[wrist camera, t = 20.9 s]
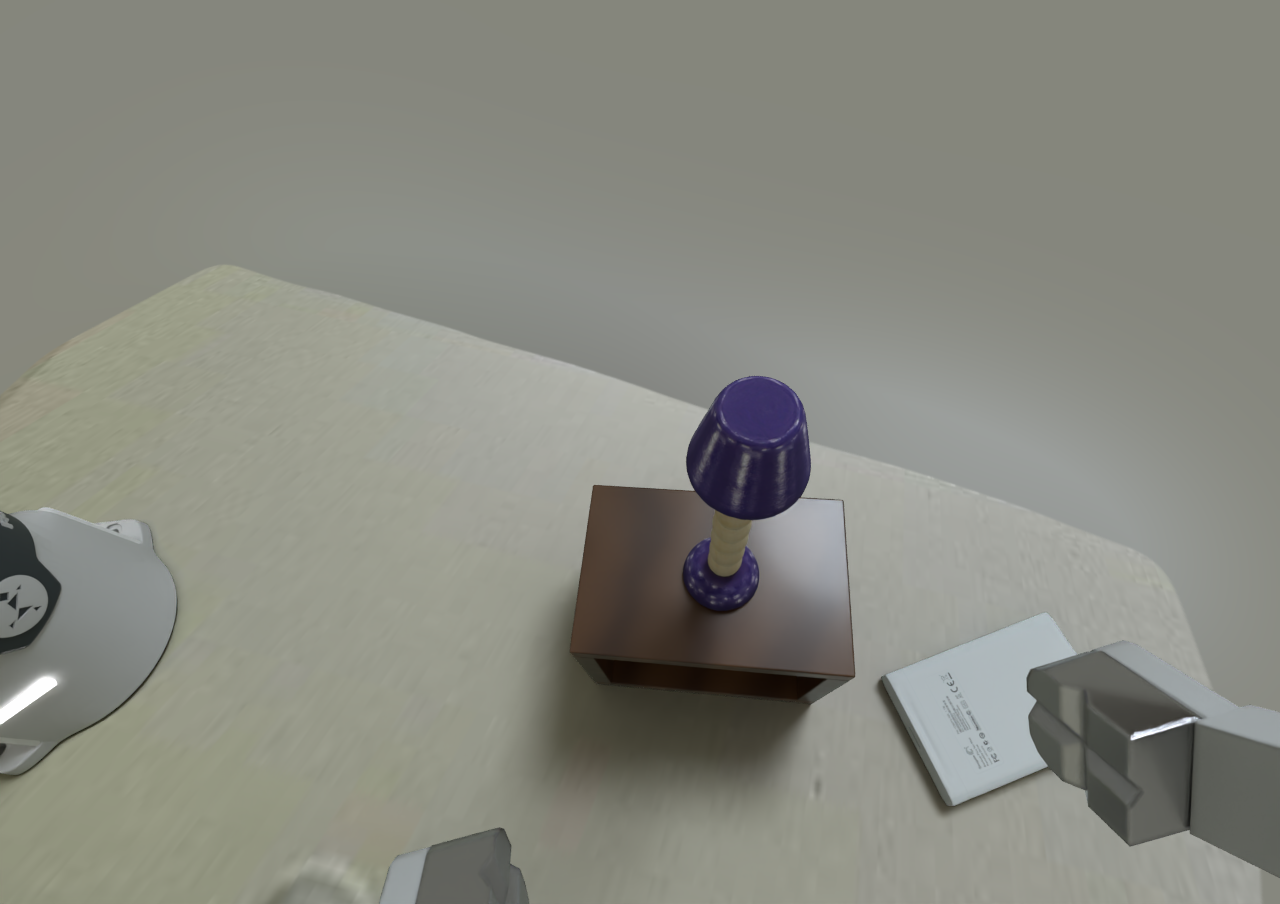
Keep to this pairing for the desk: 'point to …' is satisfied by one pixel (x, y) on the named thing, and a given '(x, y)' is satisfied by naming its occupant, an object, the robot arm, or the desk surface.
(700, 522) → the shelf
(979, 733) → the hard drive
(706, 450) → the toy lamp
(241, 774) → the desk surface
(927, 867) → the desk surface
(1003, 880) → the desk surface
